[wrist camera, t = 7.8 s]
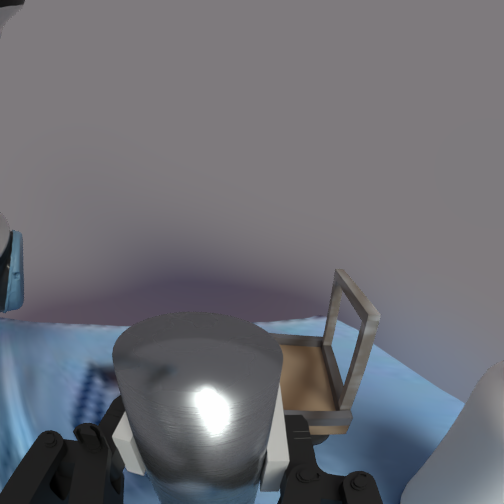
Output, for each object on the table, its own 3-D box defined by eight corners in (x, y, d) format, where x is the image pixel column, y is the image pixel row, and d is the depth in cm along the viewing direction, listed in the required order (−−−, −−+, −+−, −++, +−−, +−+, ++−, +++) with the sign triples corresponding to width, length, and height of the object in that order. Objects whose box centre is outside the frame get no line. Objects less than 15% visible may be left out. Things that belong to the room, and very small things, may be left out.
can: (393, 471, 20) (473, 324, 16) (471, 461, 17) (549, 326, 13) (395, 556, 8) (550, 419, 4) (489, 528, 5) (613, 384, 1)
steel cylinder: (155, 526, 8) (79, 374, 5) (177, 468, 13) (153, 304, 10) (247, 544, 7) (283, 420, 5) (255, 481, 12) (282, 320, 10)
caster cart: (136, 429, 26) (109, 292, 22) (179, 357, 43) (176, 251, 40) (334, 455, 24) (386, 321, 20) (319, 373, 42) (341, 266, 38)
